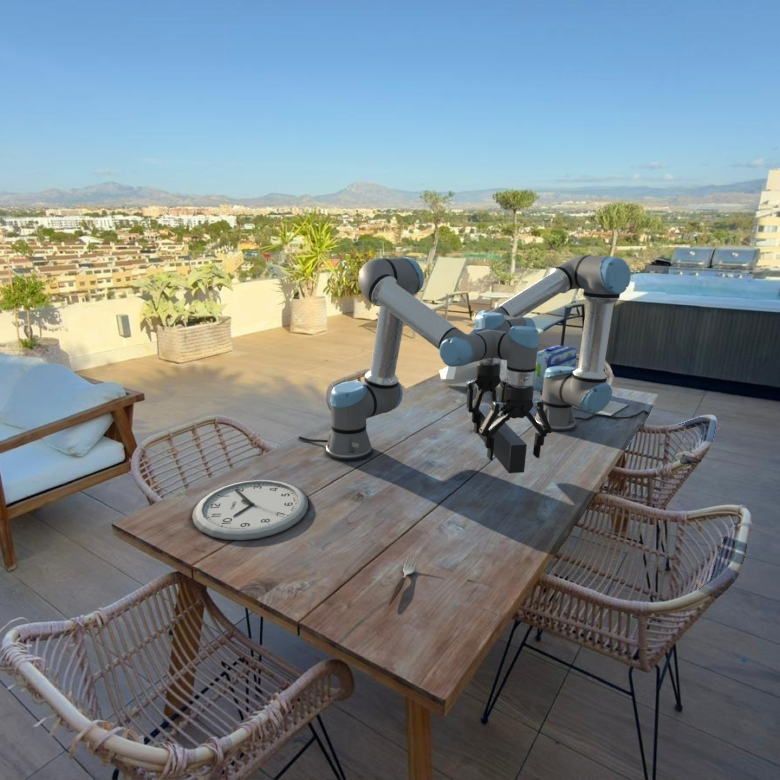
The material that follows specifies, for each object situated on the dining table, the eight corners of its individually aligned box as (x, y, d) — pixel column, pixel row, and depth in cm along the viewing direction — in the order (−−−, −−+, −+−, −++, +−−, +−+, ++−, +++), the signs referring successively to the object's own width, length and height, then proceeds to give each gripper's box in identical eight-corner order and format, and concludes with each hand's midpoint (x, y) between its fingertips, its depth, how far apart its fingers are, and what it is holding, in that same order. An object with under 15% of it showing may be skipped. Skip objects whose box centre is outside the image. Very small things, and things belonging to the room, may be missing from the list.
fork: (383, 605, 105) (383, 597, 105) (407, 560, 120) (408, 552, 119) (395, 608, 104) (395, 600, 104) (418, 562, 119) (419, 555, 118)
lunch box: (548, 398, 236) (553, 353, 229) (527, 393, 243) (531, 349, 237) (575, 387, 253) (581, 344, 247) (555, 382, 260) (560, 341, 254)
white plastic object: (461, 429, 252) (437, 405, 227) (444, 352, 274) (420, 323, 250) (535, 404, 240) (518, 377, 215) (510, 326, 262) (492, 293, 237)
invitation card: (608, 416, 214) (573, 407, 224) (608, 416, 214) (573, 408, 224) (628, 404, 229) (594, 396, 238) (628, 405, 229) (594, 397, 238)
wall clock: (304, 532, 127) (176, 536, 124) (304, 538, 127) (177, 542, 125) (311, 475, 155) (207, 478, 153) (311, 480, 156) (208, 483, 153)
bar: (473, 429, 175) (475, 405, 172) (486, 428, 175) (488, 405, 173) (508, 473, 144) (511, 445, 141) (524, 472, 144) (526, 444, 142)
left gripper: (478, 390, 135) (474, 465, 141) (570, 387, 138) (561, 460, 145) (470, 381, 142) (466, 453, 148) (557, 379, 145) (549, 449, 152)
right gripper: (465, 366, 160) (460, 436, 167) (519, 364, 162) (513, 434, 169) (458, 360, 167) (454, 428, 174) (511, 359, 169) (505, 426, 176)
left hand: (513, 457), depth 146 cm, fingers open, 13 cm apart
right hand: (483, 431), depth 171 cm, fingers closed on bar, 4 cm apart
